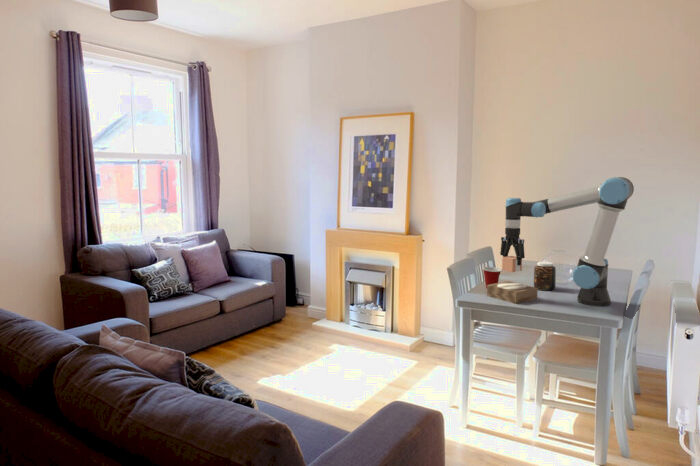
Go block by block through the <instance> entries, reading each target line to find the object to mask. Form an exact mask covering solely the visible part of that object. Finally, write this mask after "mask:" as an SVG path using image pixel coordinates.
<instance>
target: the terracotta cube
mask: <svg viewBox="0 0 700 466" xmlns="http://www.w3.org/2000/svg"><path fill="white" fill-rule="evenodd" d="M501 258H502V260H501V261H502V262H501V263H502V265H501V268H502V269H501V270H502V271H505V272H510V273H515V272H516V271H515V261H516V259H517V257H516V255H508V256H507V257H503V256H502V257H501ZM522 270H523V259H521V265H520V271H519V272H521V271H522Z"/></svg>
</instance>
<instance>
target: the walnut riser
mask: <svg viewBox="0 0 700 466" xmlns="http://www.w3.org/2000/svg"><path fill="white" fill-rule="evenodd" d="M486 296H487V297H490V298H493V297H494V298H493V299H496V300H497V299H498V300H501V301H504V302H507V303H511V304H514V305H516V304H521V303H525V302H526V301H527V302H531V301H535V299H536V300H538V290H537V288H535V287H534V286H530V285H527V284H526V285H525V284H523V283H517V282H512V281H509V280H507V281H500V282H498V283H495V284H490V285H487V289H486Z"/></svg>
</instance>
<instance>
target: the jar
mask: <svg viewBox="0 0 700 466" xmlns="http://www.w3.org/2000/svg"><path fill="white" fill-rule="evenodd" d="M556 273H557V269H556V266H554V263H553V262H552V261H537V264H536V265H535V266H534V268H533V287H535V288H537V291H542V292H543V291H544V292H549V291H550V292H551V291H554V290H556V285H557V284H556V276H557V275H556Z"/></svg>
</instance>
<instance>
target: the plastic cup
mask: <svg viewBox="0 0 700 466" xmlns="http://www.w3.org/2000/svg"><path fill="white" fill-rule="evenodd" d="M482 271H483V277H484V282H485V283H484V284H485V288H486V290H487V285H490V284H495V283H499V279H500V275H501V272H502V271H503V270H502V269H501V268H499V267H495V266H484V267H483V266H482Z"/></svg>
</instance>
